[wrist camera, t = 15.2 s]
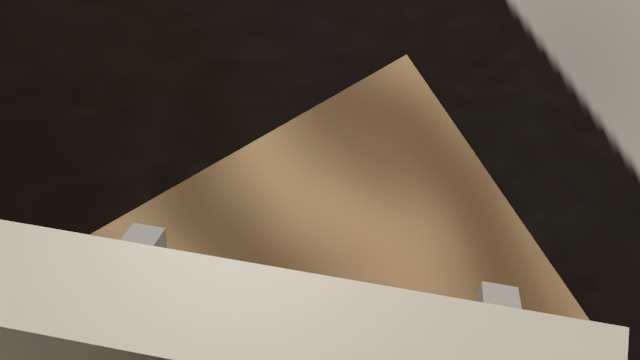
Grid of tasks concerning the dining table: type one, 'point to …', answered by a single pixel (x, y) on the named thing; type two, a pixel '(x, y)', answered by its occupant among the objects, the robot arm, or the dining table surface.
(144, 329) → the sleeve
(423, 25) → the dining table surface
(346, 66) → the dining table surface
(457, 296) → the post board
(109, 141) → the dining table surface
